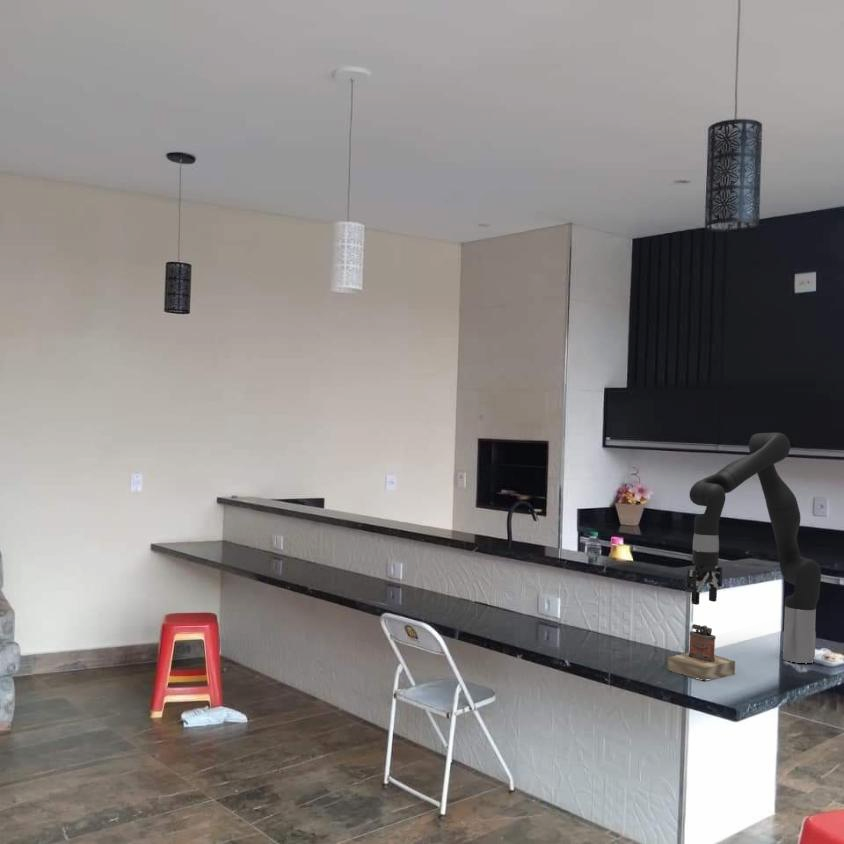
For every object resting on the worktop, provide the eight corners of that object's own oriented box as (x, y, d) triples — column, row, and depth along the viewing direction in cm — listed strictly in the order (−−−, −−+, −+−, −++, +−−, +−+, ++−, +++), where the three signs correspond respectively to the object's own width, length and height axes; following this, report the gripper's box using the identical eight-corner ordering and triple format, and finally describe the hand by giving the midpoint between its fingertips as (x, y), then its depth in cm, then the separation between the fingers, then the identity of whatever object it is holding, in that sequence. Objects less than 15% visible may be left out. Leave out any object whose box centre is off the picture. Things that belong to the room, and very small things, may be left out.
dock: (698, 663, 279) (698, 650, 279) (734, 674, 269) (735, 660, 269) (667, 670, 270) (668, 656, 270) (704, 681, 260) (704, 667, 260)
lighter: (716, 660, 268) (718, 627, 268) (711, 662, 266) (712, 629, 266) (691, 654, 274) (693, 622, 274) (686, 656, 271) (687, 624, 271)
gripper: (709, 545, 277) (707, 598, 277) (680, 549, 268) (678, 602, 268) (730, 549, 271) (728, 602, 271) (701, 552, 262) (700, 607, 262)
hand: (704, 602), depth 270 cm, fingers open, 8 cm apart
